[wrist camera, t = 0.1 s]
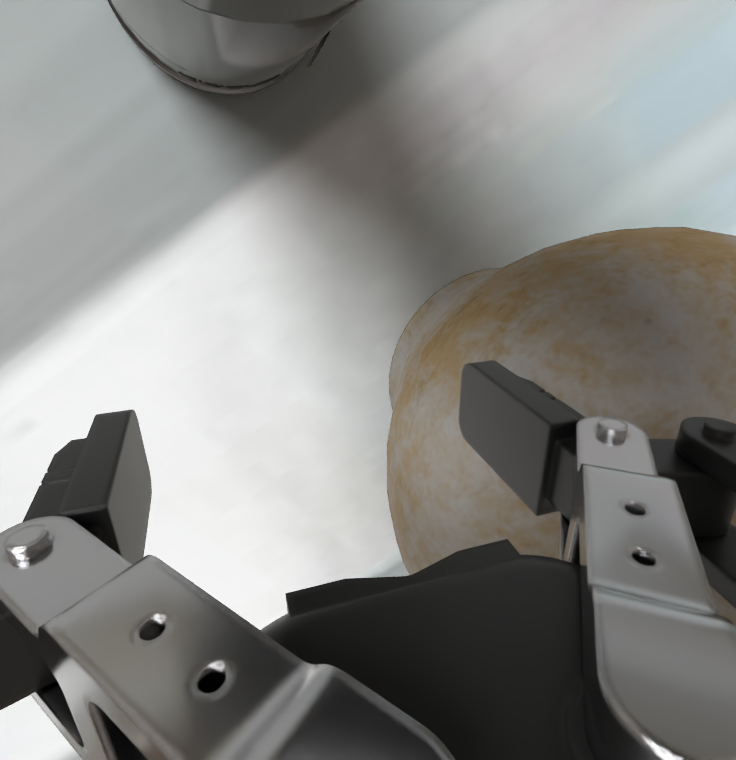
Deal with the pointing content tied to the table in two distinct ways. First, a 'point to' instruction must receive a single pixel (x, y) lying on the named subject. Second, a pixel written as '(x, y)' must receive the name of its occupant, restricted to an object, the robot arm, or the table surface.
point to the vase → (557, 371)
